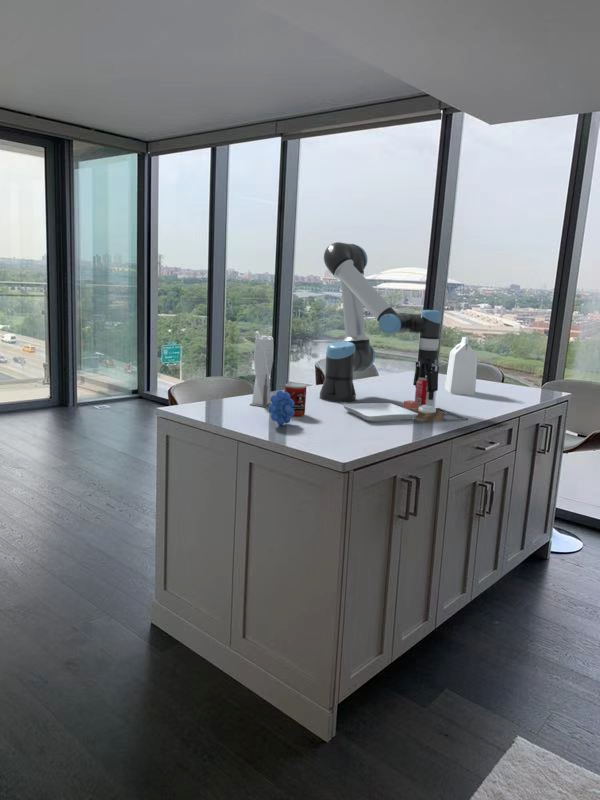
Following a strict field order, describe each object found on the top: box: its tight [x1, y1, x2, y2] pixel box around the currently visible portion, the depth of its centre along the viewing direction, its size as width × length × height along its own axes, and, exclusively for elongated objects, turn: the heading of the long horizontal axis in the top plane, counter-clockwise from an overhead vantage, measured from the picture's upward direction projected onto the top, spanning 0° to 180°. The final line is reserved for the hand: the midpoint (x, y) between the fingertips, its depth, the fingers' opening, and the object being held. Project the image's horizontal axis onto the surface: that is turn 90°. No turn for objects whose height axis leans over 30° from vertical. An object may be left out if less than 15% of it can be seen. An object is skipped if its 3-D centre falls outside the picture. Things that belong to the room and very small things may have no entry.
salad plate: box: [342, 402, 418, 423], centre depth 228 cm, size 21×21×3 cm
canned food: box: [284, 382, 307, 418], centre depth 222 cm, size 8×8×11 cm
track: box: [435, 407, 469, 422], centre depth 237 cm, size 10×19×1 cm, turn 21°
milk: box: [444, 336, 478, 396], centre depth 289 cm, size 12×12×26 cm
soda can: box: [414, 376, 428, 407], centre depth 248 cm, size 7×7×12 cm
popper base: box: [410, 408, 445, 422], centre depth 229 cm, size 9×9×3 cm
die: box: [402, 400, 419, 410], centre depth 239 cm, size 4×4×4 cm
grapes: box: [268, 390, 295, 426], centre depth 204 cm, size 12×7×12 cm, turn 137°
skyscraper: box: [249, 330, 275, 408], centre depth 235 cm, size 8×8×28 cm
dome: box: [418, 405, 437, 413], centre depth 229 cm, size 6×6×3 cm
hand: (423, 405), depth 249 cm, fingers closed on soda can, 7 cm apart
